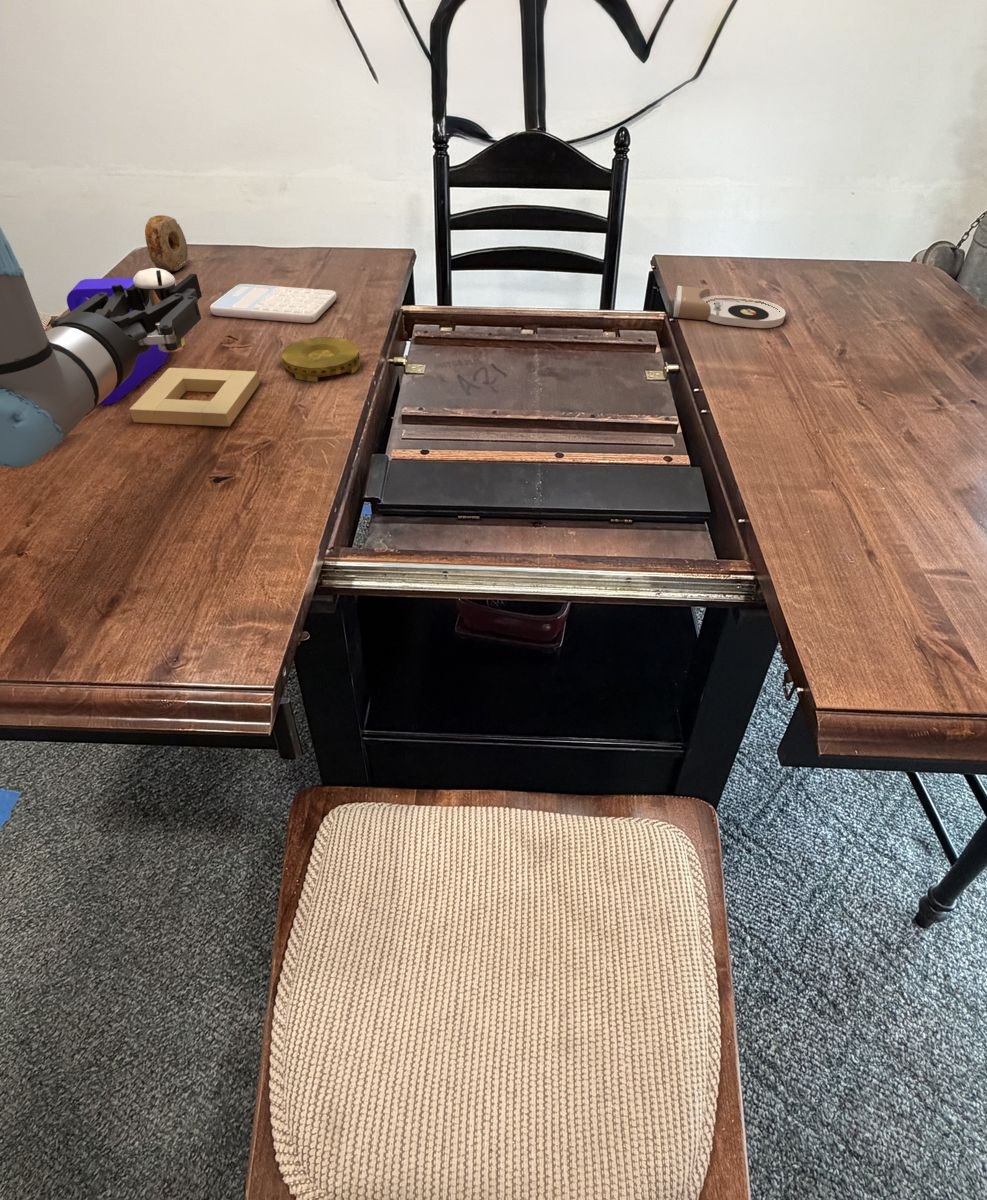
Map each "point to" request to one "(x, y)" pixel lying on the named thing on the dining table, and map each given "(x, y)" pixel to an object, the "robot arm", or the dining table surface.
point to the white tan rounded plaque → (726, 309)
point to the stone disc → (166, 243)
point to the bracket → (91, 287)
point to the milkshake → (155, 291)
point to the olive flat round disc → (321, 357)
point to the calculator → (274, 303)
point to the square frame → (220, 411)
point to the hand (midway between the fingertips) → (176, 284)
